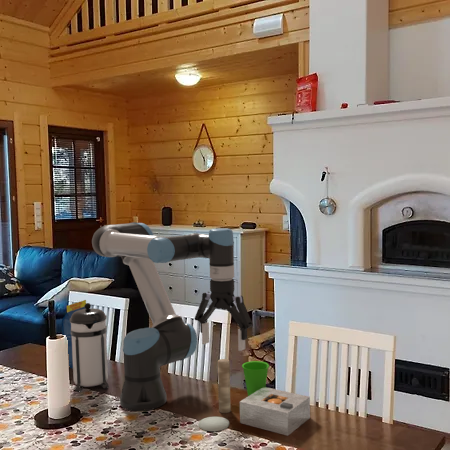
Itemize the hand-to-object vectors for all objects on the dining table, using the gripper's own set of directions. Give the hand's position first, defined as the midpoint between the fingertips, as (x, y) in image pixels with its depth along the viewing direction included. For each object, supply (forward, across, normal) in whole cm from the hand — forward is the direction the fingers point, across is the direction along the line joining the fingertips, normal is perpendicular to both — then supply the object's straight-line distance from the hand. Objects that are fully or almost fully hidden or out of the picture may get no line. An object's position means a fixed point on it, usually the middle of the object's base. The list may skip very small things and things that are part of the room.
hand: (223, 346), depth 172 cm
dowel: (+20, 0, 0) cm, 21 cm away
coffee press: (+21, -55, -6) cm, 59 cm away
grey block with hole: (+20, +17, +2) cm, 27 cm away
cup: (+21, +3, +14) cm, 25 cm away
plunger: (+17, +17, +2) cm, 24 cm away
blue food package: (+21, -77, +8) cm, 80 cm away
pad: (+20, +3, -10) cm, 23 cm away
